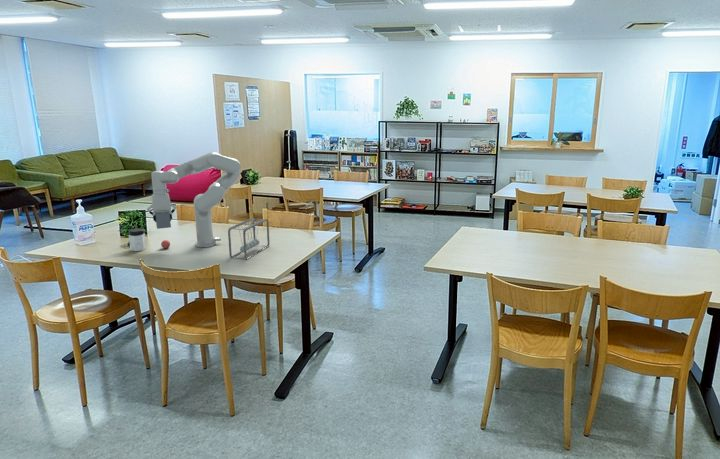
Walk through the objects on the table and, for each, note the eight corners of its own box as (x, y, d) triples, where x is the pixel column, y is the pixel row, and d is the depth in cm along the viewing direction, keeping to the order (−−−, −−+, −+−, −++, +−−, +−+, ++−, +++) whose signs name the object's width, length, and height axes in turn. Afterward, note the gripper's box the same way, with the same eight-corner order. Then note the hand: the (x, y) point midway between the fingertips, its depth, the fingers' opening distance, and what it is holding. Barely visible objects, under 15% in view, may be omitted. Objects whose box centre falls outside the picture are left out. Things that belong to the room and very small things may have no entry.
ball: (170, 245, 304) (169, 238, 302) (170, 249, 300) (170, 241, 298) (161, 246, 302) (160, 239, 300) (161, 250, 298) (161, 242, 296)
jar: (131, 252, 293) (129, 232, 290) (129, 248, 299) (126, 229, 296) (147, 249, 297) (145, 230, 294) (145, 246, 304) (143, 227, 301)
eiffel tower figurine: (134, 241, 316) (131, 221, 313) (147, 243, 313) (144, 222, 310) (115, 248, 303) (113, 226, 299) (128, 249, 299) (126, 228, 296)
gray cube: (170, 224, 302) (168, 210, 300) (170, 227, 295) (169, 212, 293) (156, 225, 299) (154, 211, 297) (157, 228, 292) (155, 214, 290)
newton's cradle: (246, 260, 278) (244, 229, 273) (229, 259, 280) (227, 228, 276) (269, 246, 306) (268, 218, 301) (254, 244, 308) (253, 216, 304)
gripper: (175, 190, 299) (177, 218, 303) (143, 192, 292) (147, 221, 296) (176, 192, 292) (179, 221, 297) (144, 194, 285) (147, 223, 290)
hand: (163, 221), depth 297 cm, fingers closed on gray cube, 7 cm apart
